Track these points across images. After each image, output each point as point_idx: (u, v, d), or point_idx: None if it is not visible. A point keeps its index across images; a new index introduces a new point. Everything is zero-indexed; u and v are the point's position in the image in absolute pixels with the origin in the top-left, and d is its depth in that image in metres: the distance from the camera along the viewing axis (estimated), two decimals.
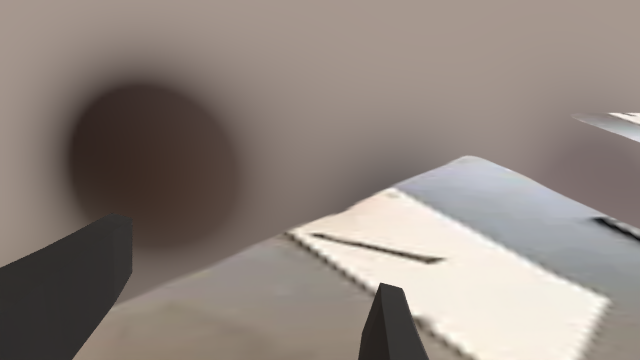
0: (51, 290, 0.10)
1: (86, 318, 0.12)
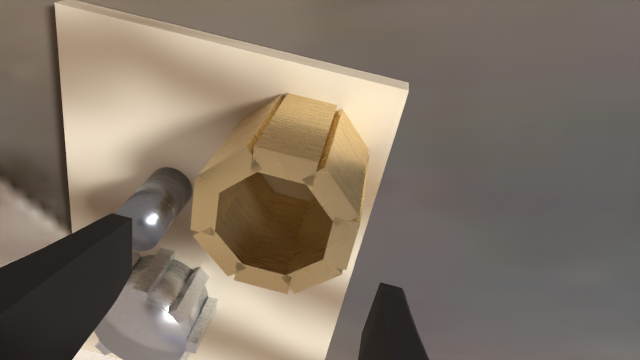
0: (51, 290, 0.10)
1: (86, 318, 0.12)
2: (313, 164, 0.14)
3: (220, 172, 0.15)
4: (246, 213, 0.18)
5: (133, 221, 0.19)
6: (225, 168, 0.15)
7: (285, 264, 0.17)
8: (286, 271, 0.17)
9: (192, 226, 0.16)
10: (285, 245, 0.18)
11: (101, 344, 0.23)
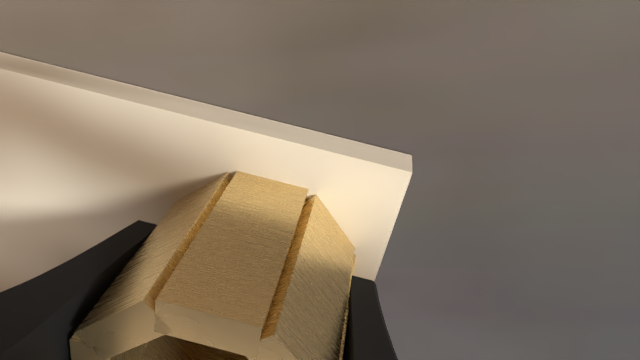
0: (85, 299, 0.10)
1: None
2: (254, 329, 0.09)
3: (107, 331, 0.09)
4: (175, 349, 0.13)
5: None
6: (114, 326, 0.09)
7: None
8: None
9: None
10: None
11: None
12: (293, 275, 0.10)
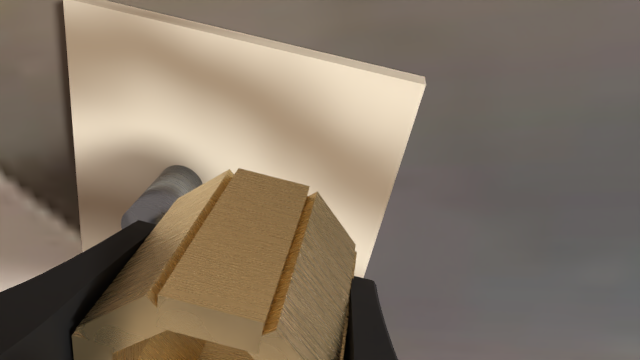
0: (85, 299, 0.10)
1: None
2: (256, 325, 0.09)
3: (110, 327, 0.09)
4: (176, 345, 0.13)
5: (145, 220, 0.18)
6: (117, 322, 0.09)
7: None
8: None
9: None
10: None
11: None
12: (295, 271, 0.10)
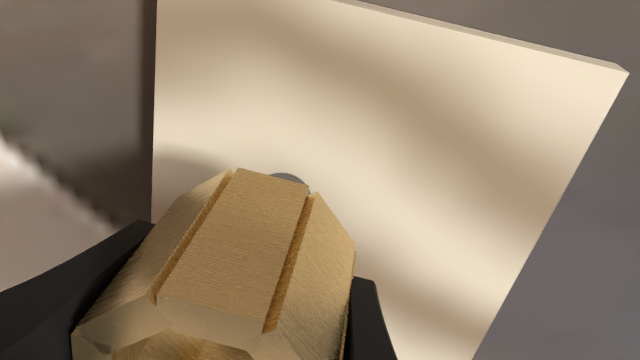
0: (85, 299, 0.10)
1: None
2: (256, 324, 0.09)
3: (109, 326, 0.09)
4: (176, 345, 0.13)
5: None
6: (116, 321, 0.09)
7: None
8: None
9: None
10: None
11: None
12: (294, 271, 0.10)
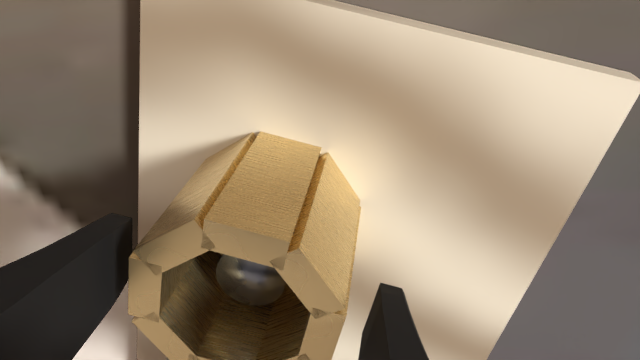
0: (51, 290, 0.10)
1: (86, 318, 0.12)
2: (283, 244, 0.11)
3: (162, 248, 0.11)
4: (206, 282, 0.15)
5: (250, 266, 0.13)
6: (168, 244, 0.11)
7: (252, 354, 0.14)
8: None
9: (130, 310, 0.13)
10: (254, 324, 0.14)
11: None
12: (312, 209, 0.12)
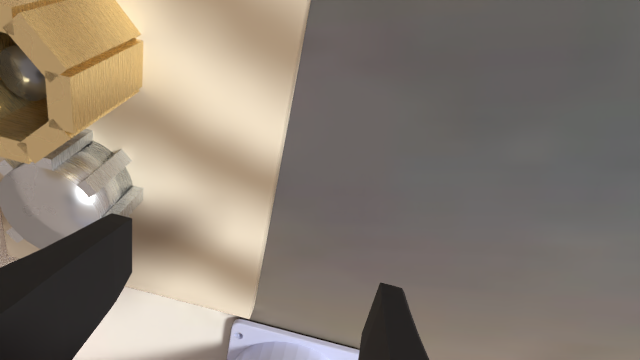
0: (51, 290, 0.10)
1: (86, 318, 0.12)
2: (7, 9, 0.14)
3: None
4: (4, 91, 0.18)
5: (22, 61, 0.17)
6: None
7: (27, 134, 0.17)
8: (23, 139, 0.17)
9: None
10: (40, 121, 0.18)
11: (12, 229, 0.22)
12: (55, 4, 0.16)
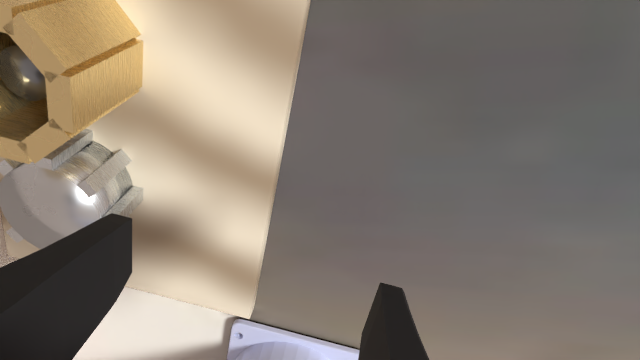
0: (51, 290, 0.10)
1: (86, 318, 0.12)
2: (7, 9, 0.14)
3: None
4: (4, 91, 0.18)
5: (22, 62, 0.17)
6: None
7: (27, 134, 0.17)
8: (23, 139, 0.17)
9: None
10: (40, 121, 0.18)
11: (12, 229, 0.22)
12: (55, 4, 0.16)
